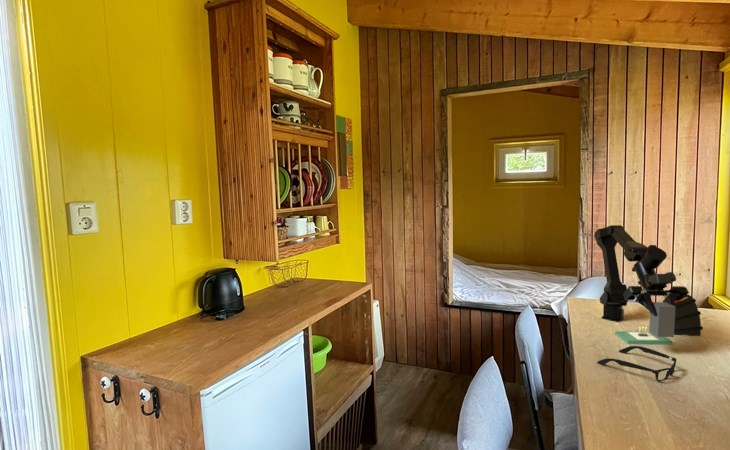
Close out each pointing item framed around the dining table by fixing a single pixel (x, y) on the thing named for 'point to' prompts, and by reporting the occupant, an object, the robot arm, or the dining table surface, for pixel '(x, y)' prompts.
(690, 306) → the magazine
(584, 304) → the dining table surface
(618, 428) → the dining table surface
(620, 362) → the glasses
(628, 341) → the board
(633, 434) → the dining table surface
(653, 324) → the block
